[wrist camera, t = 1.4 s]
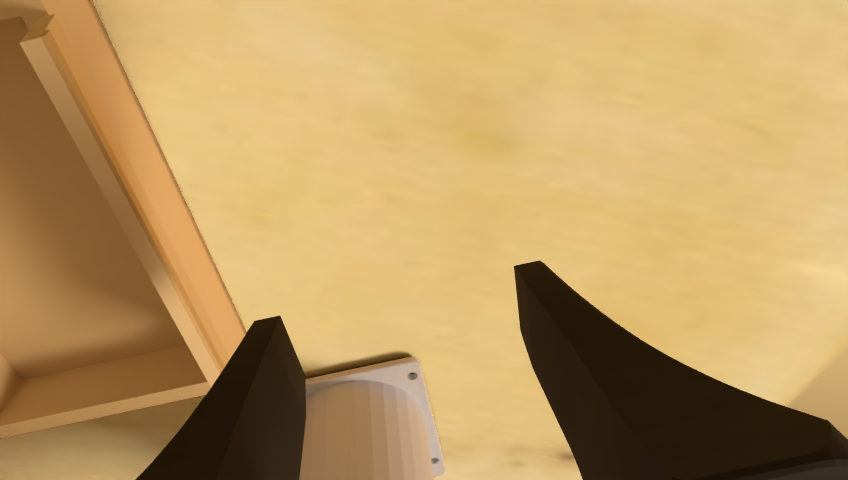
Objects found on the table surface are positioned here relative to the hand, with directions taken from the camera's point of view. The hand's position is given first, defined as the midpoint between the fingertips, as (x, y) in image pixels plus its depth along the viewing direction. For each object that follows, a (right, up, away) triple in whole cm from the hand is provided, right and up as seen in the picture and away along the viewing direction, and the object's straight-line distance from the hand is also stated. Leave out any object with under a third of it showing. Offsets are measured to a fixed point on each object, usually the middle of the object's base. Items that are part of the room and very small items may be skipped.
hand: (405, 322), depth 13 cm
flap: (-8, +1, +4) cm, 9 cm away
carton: (-15, +3, +9) cm, 17 cm away
